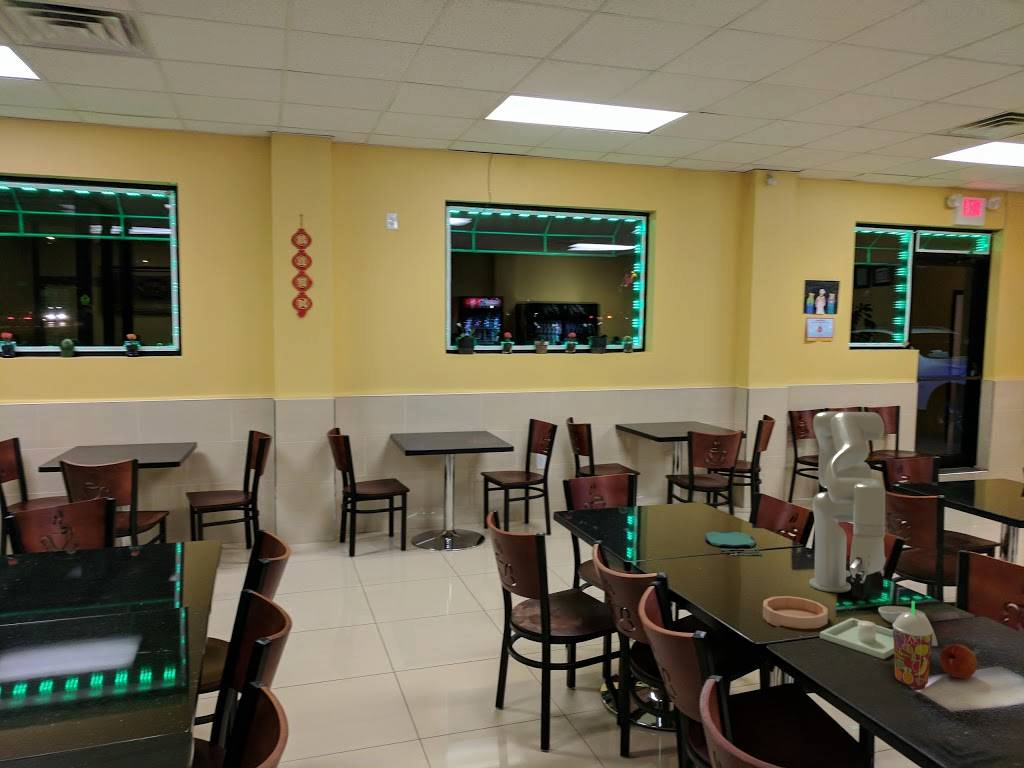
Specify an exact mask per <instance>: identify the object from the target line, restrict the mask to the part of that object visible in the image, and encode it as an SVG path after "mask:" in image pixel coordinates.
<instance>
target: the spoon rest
mask: <svg viewBox="0 0 1024 768" xmlns="http://www.w3.org/2000/svg"><path fill="white" fill-rule="evenodd" d="M877 609H878V610H877V611H878V613H879V614H880V616H881V617H882V618H883V619H884V620H885V621H886V622H888V623H891V624H893V623H894V622H895V620H896V619H897V617H898V616H899V615H901V614H902V613H905V612H911V609H912V607H908V606H898V605H884V606H880V607H878V608H877ZM915 613H918V614H920V615H922V616H923V617H924V618H925V619H926V620H927V621H928V622H929V624H930V626H931V628H932V629H933V634H932V646H931V647H938V639H937V636H936V634H935V631H934V628H933V626H932V624H931V623H930V621H929V619H928V617H927V616H926V613H925V612H923V611H921V610H920V609H916V608H915Z"/></svg>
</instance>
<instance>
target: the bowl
mask: <svg viewBox="0 0 1024 768" xmlns="http://www.w3.org/2000/svg"><path fill="white" fill-rule="evenodd" d="M828 613H829V612H828V607H826V606H825V605H823V604H821V603H820V602H818V601H814V600H811V599H809V598H805V597H798V596H790V595H784V596H783V595H782V596H771V597H769V598H766V599H764V600H763V604H762V619H763V620H764V619H765V620H766V621H767V622H766V621H765V620H764V621H765V622H766V623H768V624H769V623H770V624H769V625H771V624H772V625H771V626H773V625H774V626H773V627H775V626H777V627H776V628H778V627H780V626H783V627H787V628H793V629H803V630H804V629H806V630H807V629H808V630H809V629H819V628H821V627H824V626H826V625H828Z"/></svg>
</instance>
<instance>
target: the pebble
mask: <svg viewBox="0 0 1024 768" xmlns="http://www.w3.org/2000/svg"><path fill="white" fill-rule="evenodd" d="M876 625H877V624H876V623H875V622H873V621H868V620H861V621H859V622H858V640H859V641H861V642H864V643H875V642H876Z"/></svg>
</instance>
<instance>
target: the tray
mask: <svg viewBox="0 0 1024 768" xmlns="http://www.w3.org/2000/svg"><path fill="white" fill-rule="evenodd" d="M859 621H862V620H860V619H857V618H854V617H850V618H848V619H846V620H843V621H841V622H839V623H837V624H835V625H832V626H831V627H828V628H826V629H824V630H822V631H820V632H819V639H822V640H825V641H828V642H831V643H834V644H836V645H837V644H838V645H840V646H843V647H846V648H849V649H852V650H855V651H857V652H861V653H864V654H867V655H870V656H872V657H874V658H875V657H876V658H879V659H881V660H885V659H887V658H888V657H891V656H892V655H894V640H893V629H890V628H887V627H884V626H881V625H877V624H876V642H875V643H864V642H861V641H859V640H858V622H859Z"/></svg>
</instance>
